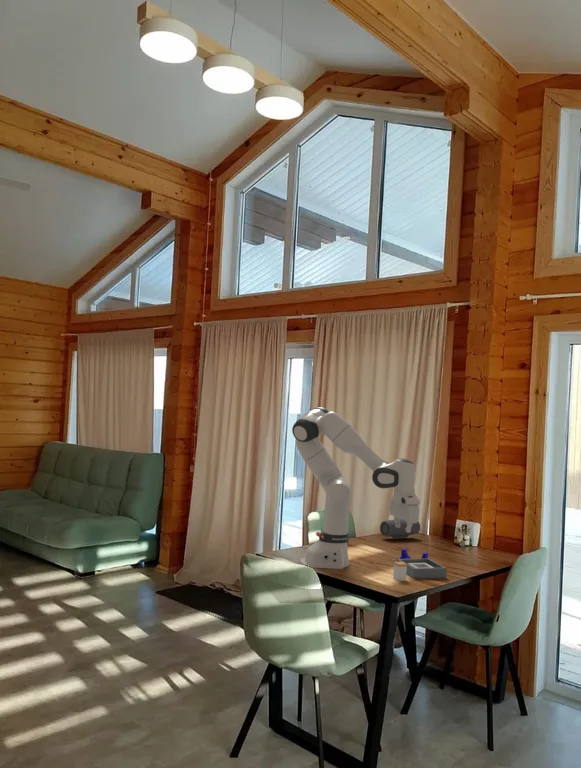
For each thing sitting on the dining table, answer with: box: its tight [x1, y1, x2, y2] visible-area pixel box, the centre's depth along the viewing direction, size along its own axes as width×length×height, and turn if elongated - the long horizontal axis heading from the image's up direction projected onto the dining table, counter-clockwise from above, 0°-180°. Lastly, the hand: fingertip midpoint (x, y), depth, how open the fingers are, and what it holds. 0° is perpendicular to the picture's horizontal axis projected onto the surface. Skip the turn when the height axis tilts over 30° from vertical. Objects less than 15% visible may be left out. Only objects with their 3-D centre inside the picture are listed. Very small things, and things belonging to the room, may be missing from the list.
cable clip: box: [399, 548, 429, 559], centre depth 309 cm, size 12×4×6 cm, turn 61°
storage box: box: [396, 557, 448, 579], centre depth 290 cm, size 16×16×5 cm
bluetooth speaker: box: [379, 519, 421, 539], centre depth 365 cm, size 23×9×10 cm, turn 121°
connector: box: [392, 561, 407, 582], centre depth 277 cm, size 4×4×8 cm
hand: (402, 529), depth 278 cm, fingers open, 8 cm apart
